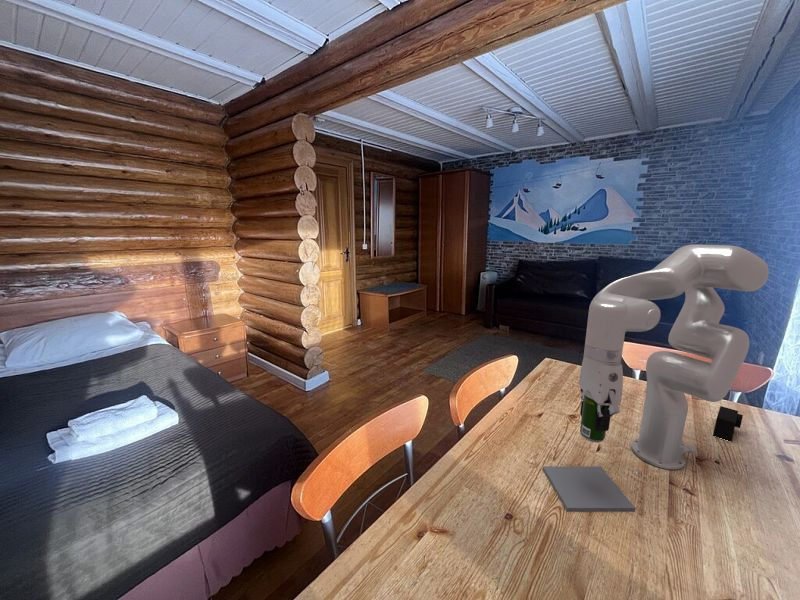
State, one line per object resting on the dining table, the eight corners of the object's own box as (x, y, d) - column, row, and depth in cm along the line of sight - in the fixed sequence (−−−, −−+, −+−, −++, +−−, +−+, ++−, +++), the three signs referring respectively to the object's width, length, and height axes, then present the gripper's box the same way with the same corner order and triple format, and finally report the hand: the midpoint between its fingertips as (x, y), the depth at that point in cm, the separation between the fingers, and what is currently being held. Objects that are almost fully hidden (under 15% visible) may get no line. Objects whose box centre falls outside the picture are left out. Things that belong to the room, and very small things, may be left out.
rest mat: (600, 469, 92) (600, 466, 91) (635, 511, 78) (635, 508, 78) (542, 469, 92) (542, 466, 91) (566, 511, 78) (567, 507, 78)
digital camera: (736, 444, 102) (741, 424, 101) (712, 436, 106) (716, 417, 104) (738, 431, 109) (743, 412, 107) (716, 424, 113) (720, 405, 111)
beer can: (597, 446, 78) (603, 399, 76) (575, 434, 82) (580, 390, 80) (608, 438, 81) (615, 393, 78) (586, 427, 85) (591, 384, 83)
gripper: (645, 367, 69) (632, 445, 72) (597, 340, 85) (589, 404, 89) (608, 367, 69) (598, 445, 73) (568, 340, 86) (561, 404, 89)
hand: (593, 422), depth 81 cm, fingers closed on beer can, 5 cm apart
